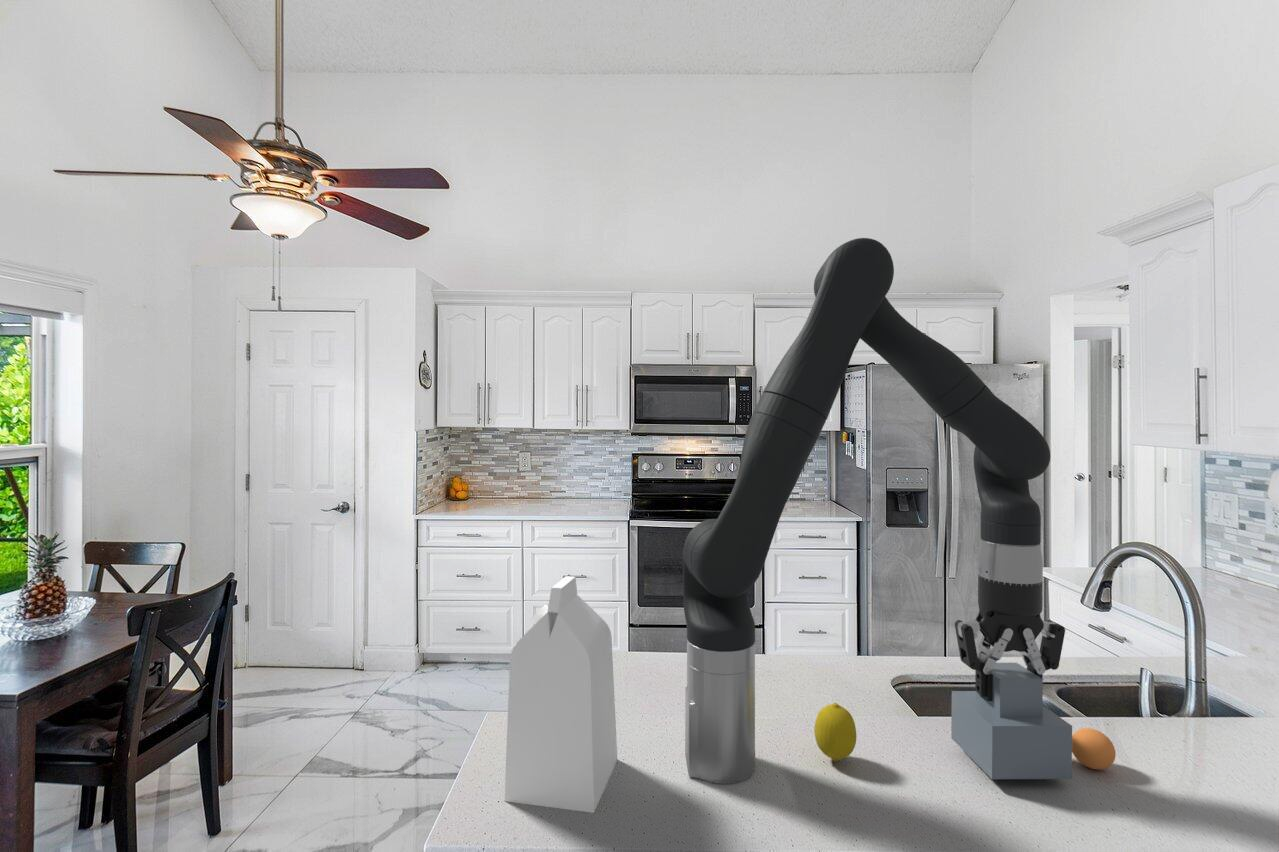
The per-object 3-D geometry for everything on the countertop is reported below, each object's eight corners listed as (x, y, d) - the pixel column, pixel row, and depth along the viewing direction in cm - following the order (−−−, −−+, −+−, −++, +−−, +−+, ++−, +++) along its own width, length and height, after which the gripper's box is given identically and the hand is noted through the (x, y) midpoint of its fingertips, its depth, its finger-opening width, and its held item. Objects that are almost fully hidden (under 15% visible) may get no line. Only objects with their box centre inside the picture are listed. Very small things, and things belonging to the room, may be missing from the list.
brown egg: (1132, 752, 83) (1112, 784, 83) (1102, 732, 88) (1083, 763, 88) (1101, 732, 82) (1082, 765, 82) (1073, 714, 87) (1054, 745, 87)
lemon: (859, 774, 83) (859, 714, 83) (815, 769, 84) (816, 710, 84) (853, 752, 89) (853, 696, 89) (813, 748, 90) (813, 693, 90)
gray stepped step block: (991, 779, 80) (992, 686, 79) (951, 738, 90) (952, 656, 90) (1071, 779, 80) (1072, 686, 80) (1022, 738, 90) (1022, 656, 90)
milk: (594, 812, 75) (593, 597, 75) (504, 801, 78) (503, 592, 77) (617, 759, 87) (617, 573, 87) (539, 750, 89) (538, 569, 89)
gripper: (971, 581, 81) (970, 712, 81) (1082, 581, 81) (1081, 711, 81) (942, 567, 88) (942, 687, 88) (1044, 567, 88) (1043, 686, 88)
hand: (1008, 698), depth 85 cm, fingers closed on gray stepped step block, 5 cm apart
